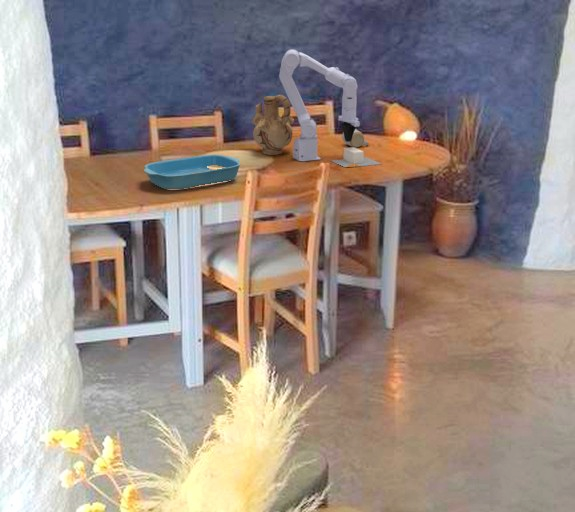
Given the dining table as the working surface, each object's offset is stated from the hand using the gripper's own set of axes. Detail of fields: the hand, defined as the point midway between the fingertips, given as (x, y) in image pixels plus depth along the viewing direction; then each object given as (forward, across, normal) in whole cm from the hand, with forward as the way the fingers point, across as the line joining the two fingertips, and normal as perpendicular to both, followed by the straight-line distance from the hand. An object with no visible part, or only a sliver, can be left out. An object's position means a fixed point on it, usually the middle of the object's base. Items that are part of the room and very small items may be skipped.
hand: (348, 141), depth 358 cm
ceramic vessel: (+8, +23, +24) cm, 34 cm away
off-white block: (+5, 0, 0) cm, 5 cm away
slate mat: (+7, -7, 0) cm, 10 cm away
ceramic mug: (+8, +21, -15) cm, 27 cm away
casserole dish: (+8, -10, +69) cm, 71 cm away
